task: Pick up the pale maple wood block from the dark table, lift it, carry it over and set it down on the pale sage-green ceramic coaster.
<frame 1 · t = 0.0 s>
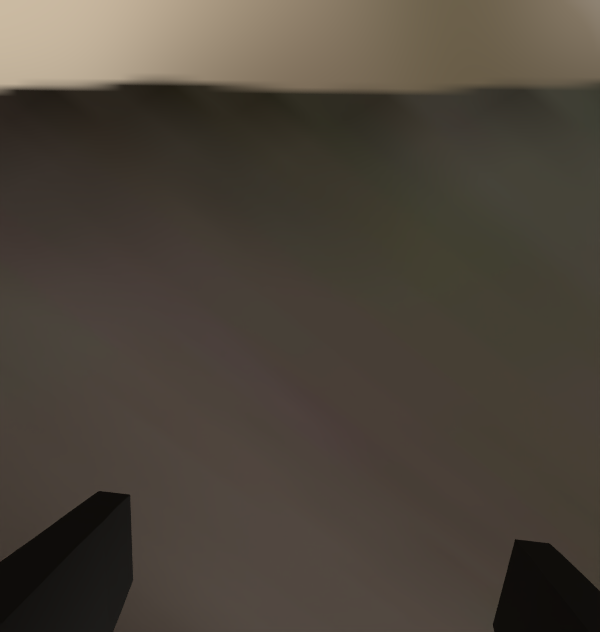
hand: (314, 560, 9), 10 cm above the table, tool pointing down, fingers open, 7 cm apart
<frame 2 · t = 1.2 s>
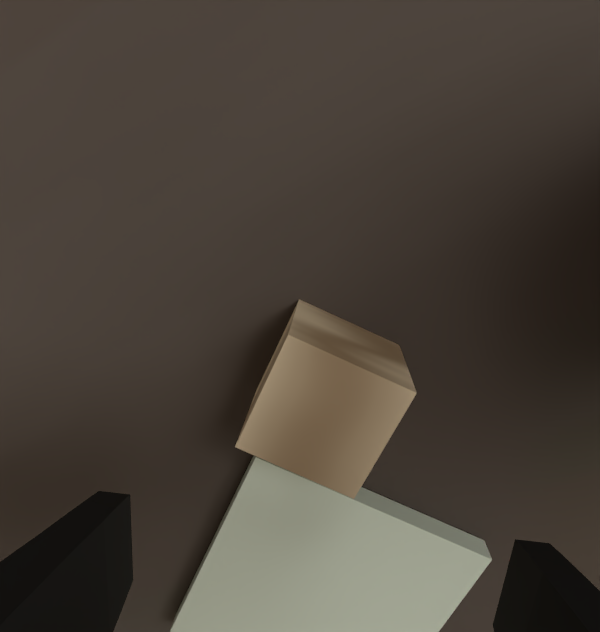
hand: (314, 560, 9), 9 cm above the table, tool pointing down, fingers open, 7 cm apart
coaster: (321, 579, 20), on the table
maple block: (325, 367, 18), on the table
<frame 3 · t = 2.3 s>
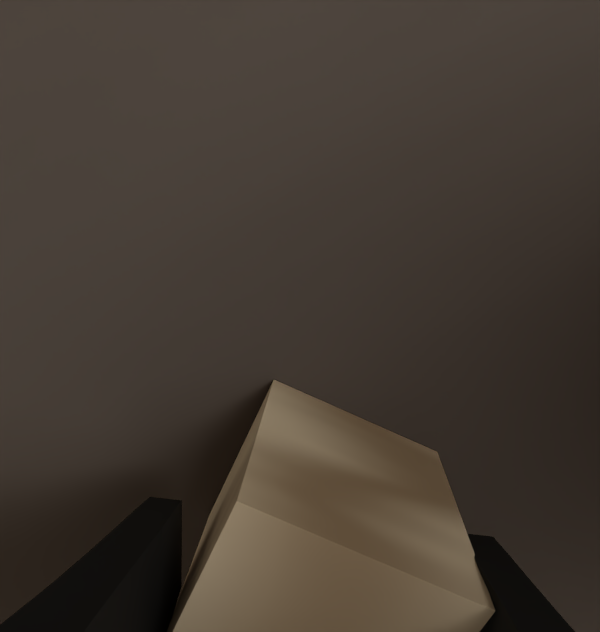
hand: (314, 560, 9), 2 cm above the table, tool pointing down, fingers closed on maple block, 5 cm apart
maple block: (318, 484, 11), on the table, touching gripper
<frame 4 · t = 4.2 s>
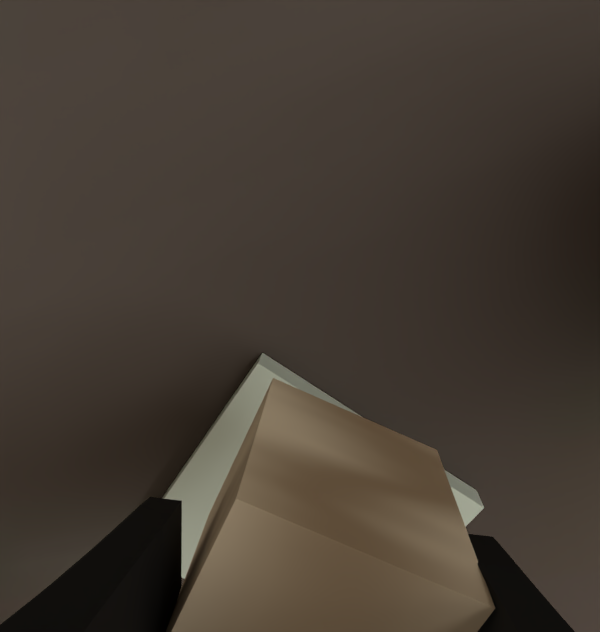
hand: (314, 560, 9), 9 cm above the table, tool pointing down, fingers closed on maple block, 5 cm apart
coaster: (300, 511, 19), on the table
maple block: (318, 483, 11), point 7 cm above the table, touching gripper
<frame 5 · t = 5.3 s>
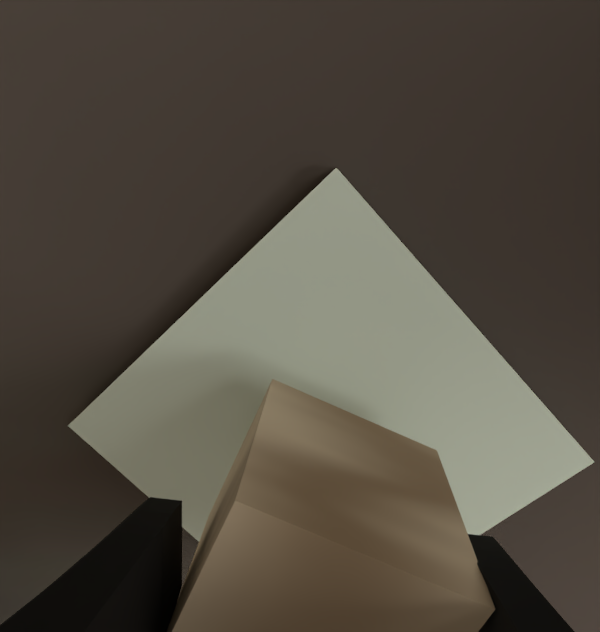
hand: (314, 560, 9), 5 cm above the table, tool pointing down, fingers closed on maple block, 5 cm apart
coaster: (323, 424, 14), on the table
maple block: (317, 484, 11), point 3 cm above the table, touching gripper
when the fingers open (4 cm above the table, at t = 6.1 s): maple block stays where it is, resting on coaster.
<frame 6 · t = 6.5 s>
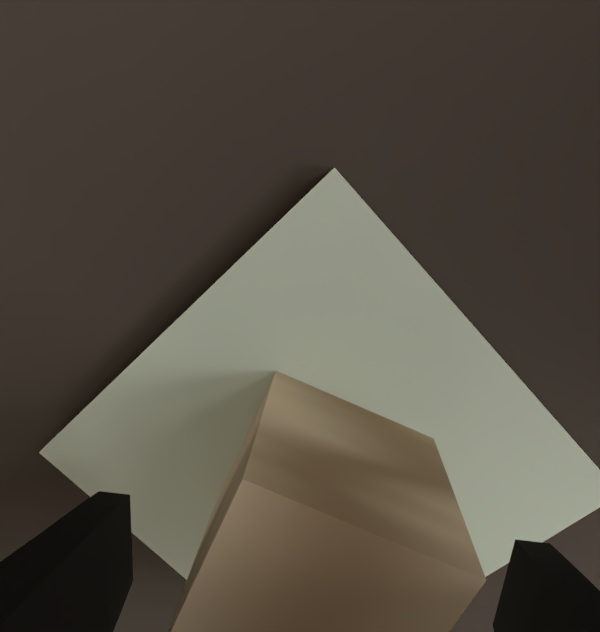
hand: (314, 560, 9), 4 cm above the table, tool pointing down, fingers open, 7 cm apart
coaster: (320, 449, 12), on the table
maple block: (319, 471, 11), point 1 cm above the table, touching coaster
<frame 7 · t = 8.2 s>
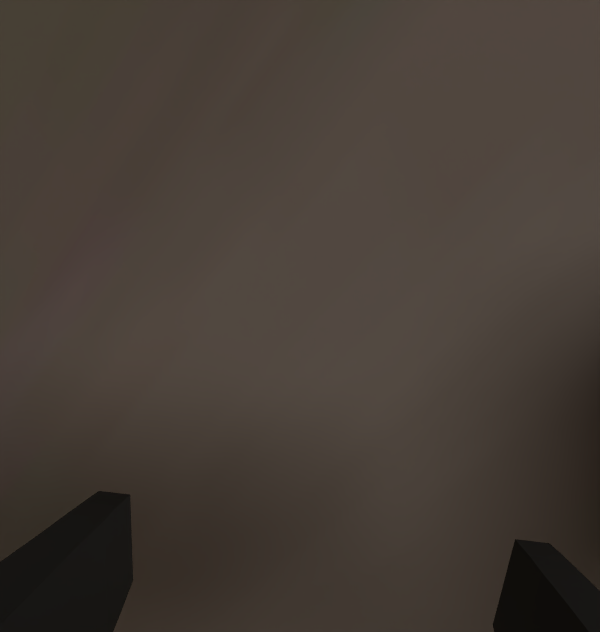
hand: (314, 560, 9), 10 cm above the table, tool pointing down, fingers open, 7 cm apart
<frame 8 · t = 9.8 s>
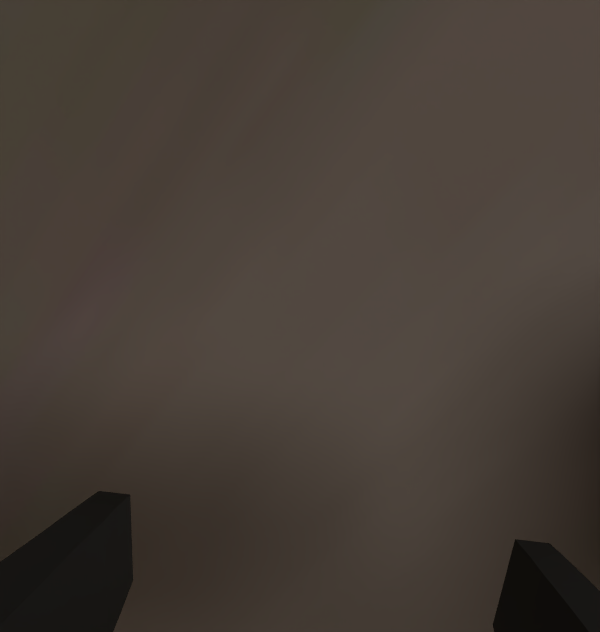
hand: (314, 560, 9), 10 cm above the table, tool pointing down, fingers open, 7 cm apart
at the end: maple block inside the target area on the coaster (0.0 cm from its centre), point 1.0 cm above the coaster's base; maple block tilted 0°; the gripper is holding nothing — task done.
